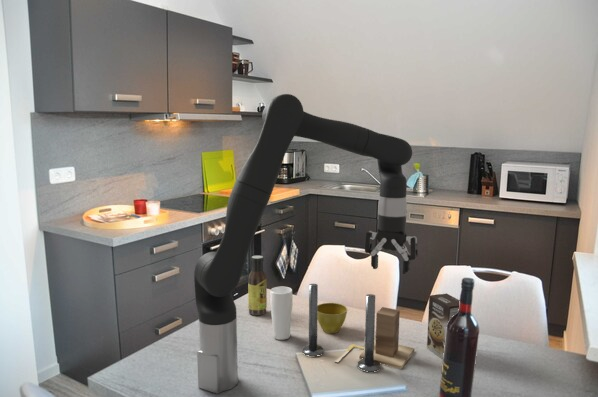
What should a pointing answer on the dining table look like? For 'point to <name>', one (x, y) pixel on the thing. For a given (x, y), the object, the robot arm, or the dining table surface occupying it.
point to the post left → (313, 323)
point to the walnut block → (387, 332)
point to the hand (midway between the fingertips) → (390, 270)
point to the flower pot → (331, 316)
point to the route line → (355, 347)
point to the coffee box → (440, 320)
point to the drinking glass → (281, 311)
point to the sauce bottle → (257, 287)
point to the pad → (397, 360)
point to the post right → (369, 337)
